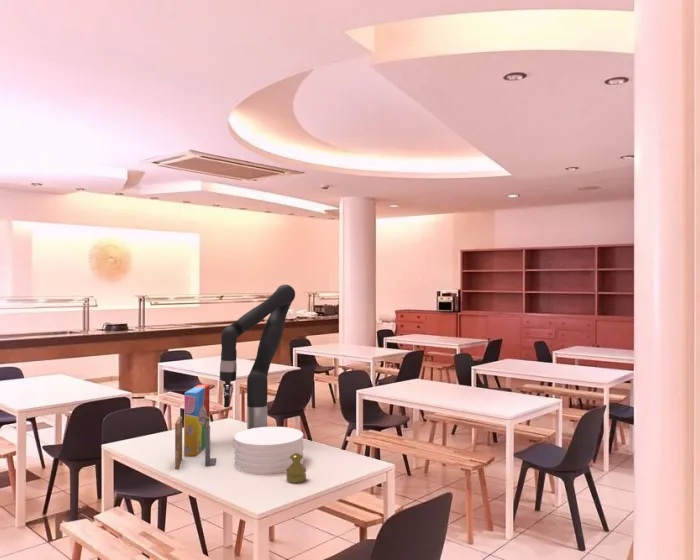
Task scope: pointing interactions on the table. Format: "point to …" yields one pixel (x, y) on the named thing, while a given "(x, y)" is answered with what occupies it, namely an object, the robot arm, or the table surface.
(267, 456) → the plate stack
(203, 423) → the game box
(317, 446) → the table surface
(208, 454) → the dark metal bookend
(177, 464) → the oak shelf wall
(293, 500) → the table surface
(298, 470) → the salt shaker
